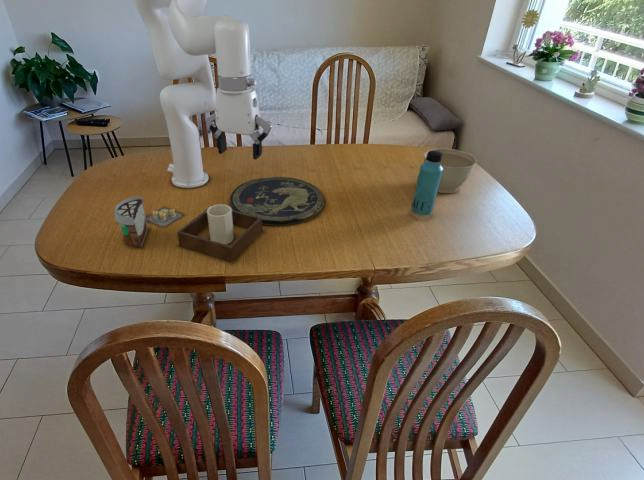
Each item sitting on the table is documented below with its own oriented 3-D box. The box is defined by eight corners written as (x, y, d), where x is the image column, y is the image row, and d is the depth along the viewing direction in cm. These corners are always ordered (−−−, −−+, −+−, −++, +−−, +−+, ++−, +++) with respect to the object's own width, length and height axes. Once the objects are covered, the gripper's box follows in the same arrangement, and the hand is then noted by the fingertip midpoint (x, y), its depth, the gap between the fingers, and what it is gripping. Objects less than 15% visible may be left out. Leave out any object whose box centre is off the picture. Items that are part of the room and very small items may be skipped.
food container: (127, 227, 118) (118, 196, 112) (148, 226, 118) (141, 195, 112) (116, 251, 108) (107, 219, 102) (140, 250, 108) (132, 218, 103)
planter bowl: (443, 174, 148) (450, 145, 142) (477, 193, 136) (487, 162, 130) (408, 182, 142) (414, 152, 136) (440, 202, 131) (449, 171, 124)
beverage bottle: (432, 211, 126) (448, 149, 114) (431, 222, 121) (447, 158, 109) (410, 208, 128) (424, 146, 116) (408, 218, 123) (422, 154, 111)
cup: (205, 241, 112) (201, 213, 107) (218, 230, 117) (215, 202, 112) (225, 247, 110) (222, 218, 105) (238, 235, 115) (236, 207, 109)
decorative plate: (216, 214, 120) (244, 172, 144) (217, 220, 121) (244, 177, 145) (317, 226, 116) (329, 180, 139) (317, 232, 117) (328, 185, 140)
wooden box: (179, 246, 110) (176, 232, 108) (213, 217, 122) (212, 204, 120) (231, 262, 105) (230, 248, 102) (262, 231, 117) (262, 217, 114)
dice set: (176, 215, 123) (175, 209, 122) (164, 222, 120) (163, 217, 119) (164, 210, 126) (163, 205, 124) (152, 218, 122) (151, 212, 121)
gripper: (276, 82, 93) (277, 154, 103) (210, 76, 98) (217, 145, 108) (263, 90, 87) (265, 165, 98) (193, 83, 93) (202, 155, 103)
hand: (239, 154), depth 103 cm, fingers open, 9 cm apart
